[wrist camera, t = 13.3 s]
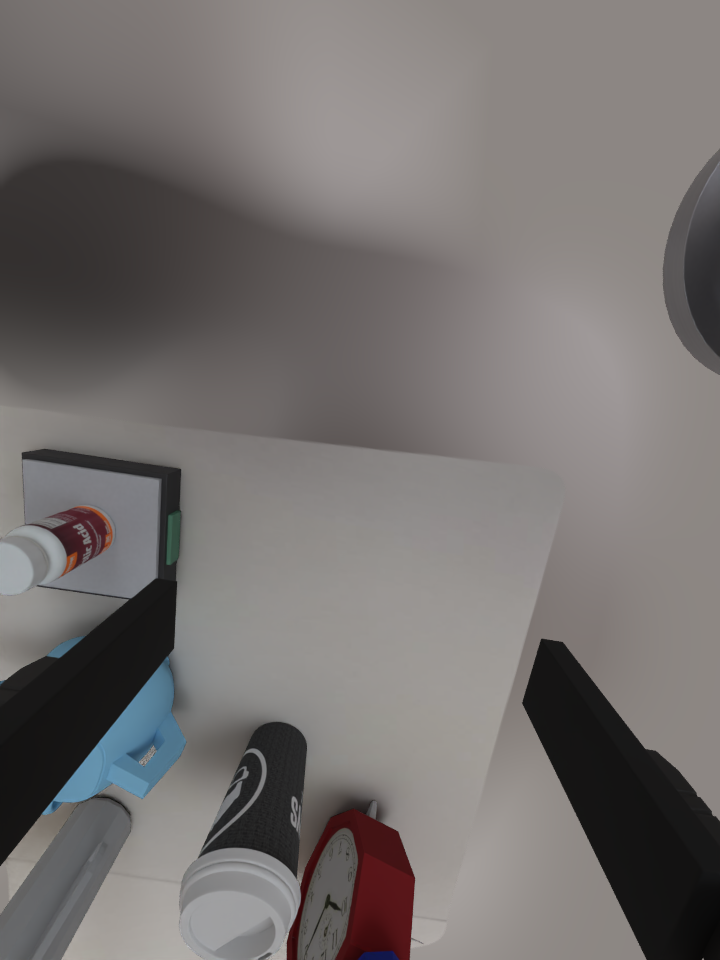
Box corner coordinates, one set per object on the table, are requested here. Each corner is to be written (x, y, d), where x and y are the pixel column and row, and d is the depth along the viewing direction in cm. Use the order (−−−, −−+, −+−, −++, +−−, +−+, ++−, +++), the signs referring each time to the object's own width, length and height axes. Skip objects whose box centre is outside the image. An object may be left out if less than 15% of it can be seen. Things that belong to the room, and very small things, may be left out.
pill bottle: (120, 553, 34) (43, 602, 26) (69, 552, 34) (-24, 600, 26) (114, 504, 33) (32, 538, 25) (61, 502, 33) (-38, 536, 25)
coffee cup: (254, 787, 44) (198, 984, 29) (223, 722, 42) (146, 898, 27) (331, 768, 43) (313, 961, 28) (303, 701, 41) (268, 870, 26)
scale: (44, 448, 35) (15, 453, 32) (185, 469, 36) (169, 476, 33) (49, 573, 38) (22, 587, 35) (179, 592, 38) (163, 608, 35)
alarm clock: (362, 775, 43) (361, 1089, 23) (424, 807, 44) (472, 1136, 24) (297, 855, 46) (247, 1197, 26) (356, 885, 47) (350, 1235, 27)
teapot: (231, 640, 39) (175, 740, 28) (187, 758, 43) (121, 890, 31) (46, 573, 38) (-93, 649, 27) (15, 700, 41) (-120, 817, 30)
